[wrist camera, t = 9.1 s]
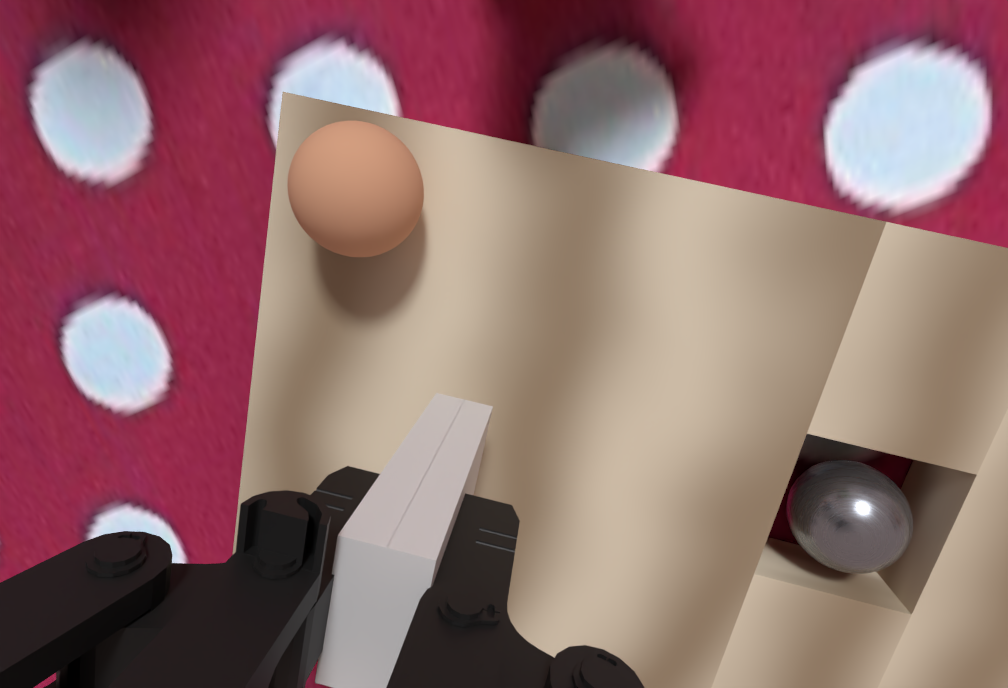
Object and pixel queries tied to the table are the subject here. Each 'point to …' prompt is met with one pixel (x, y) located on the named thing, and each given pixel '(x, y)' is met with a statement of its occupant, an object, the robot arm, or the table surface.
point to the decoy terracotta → (355, 188)
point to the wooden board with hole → (660, 403)
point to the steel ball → (849, 516)
